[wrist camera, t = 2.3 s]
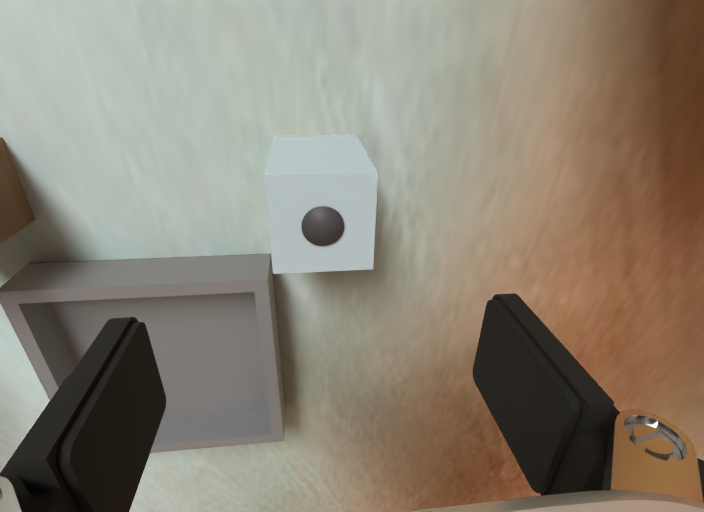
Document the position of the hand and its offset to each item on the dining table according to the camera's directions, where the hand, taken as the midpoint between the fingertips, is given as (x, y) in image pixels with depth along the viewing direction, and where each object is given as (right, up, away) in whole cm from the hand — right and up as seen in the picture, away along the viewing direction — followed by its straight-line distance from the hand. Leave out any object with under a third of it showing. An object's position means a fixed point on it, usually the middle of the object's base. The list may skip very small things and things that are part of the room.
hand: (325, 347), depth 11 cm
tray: (-11, -4, +16) cm, 20 cm away
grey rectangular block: (-1, +7, +12) cm, 14 cm away
